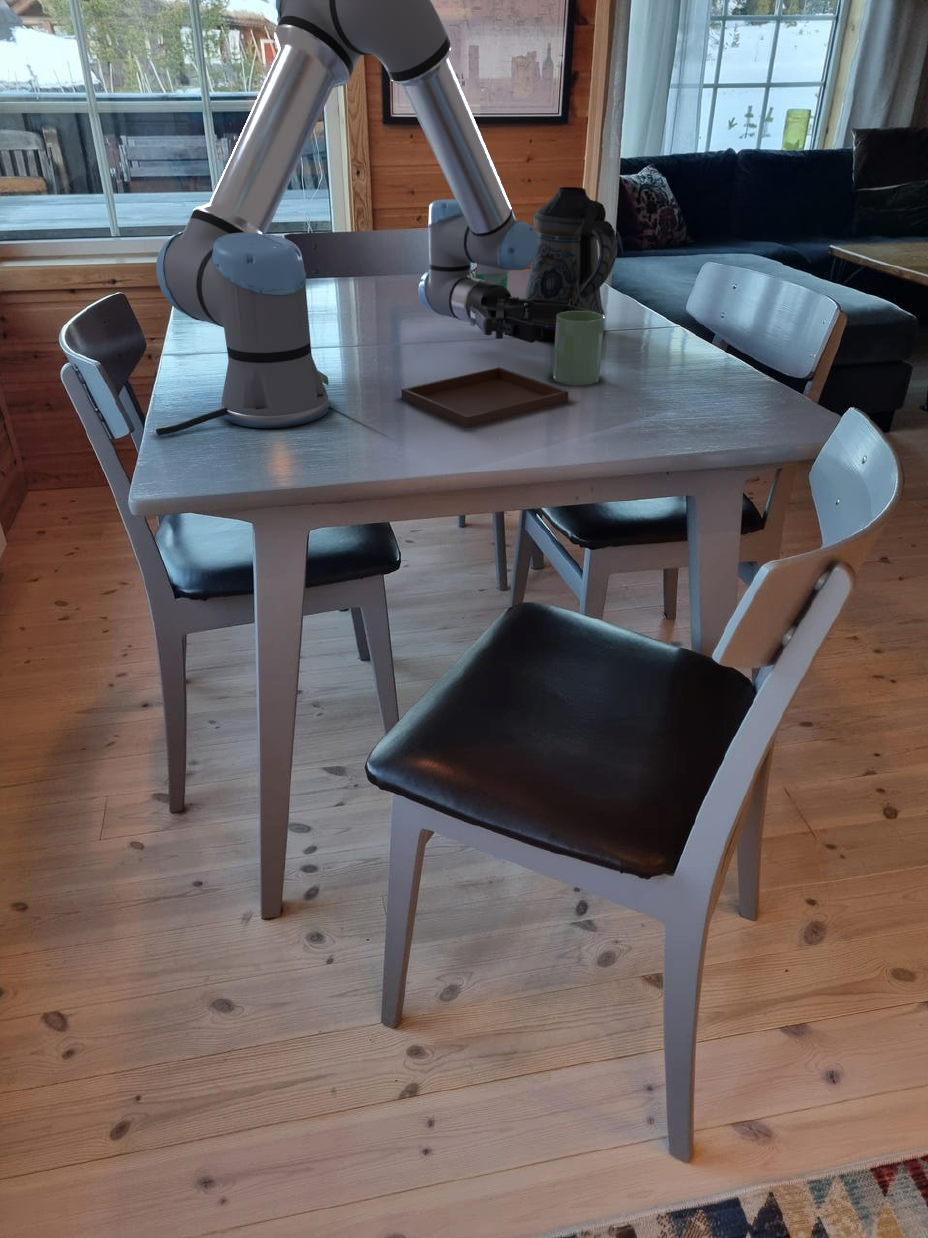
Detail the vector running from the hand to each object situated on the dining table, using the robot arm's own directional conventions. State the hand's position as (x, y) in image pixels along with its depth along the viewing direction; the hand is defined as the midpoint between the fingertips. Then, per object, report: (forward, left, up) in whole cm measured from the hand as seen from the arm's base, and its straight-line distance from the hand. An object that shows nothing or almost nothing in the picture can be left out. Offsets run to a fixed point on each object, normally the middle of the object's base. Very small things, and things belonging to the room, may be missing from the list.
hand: (565, 327), depth 139 cm
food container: (+22, +44, -8) cm, 50 cm away
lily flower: (+32, +64, -8) cm, 72 cm away
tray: (-19, -3, -8) cm, 21 cm away
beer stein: (+20, +20, -8) cm, 30 cm away
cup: (0, -3, -8) cm, 8 cm away
